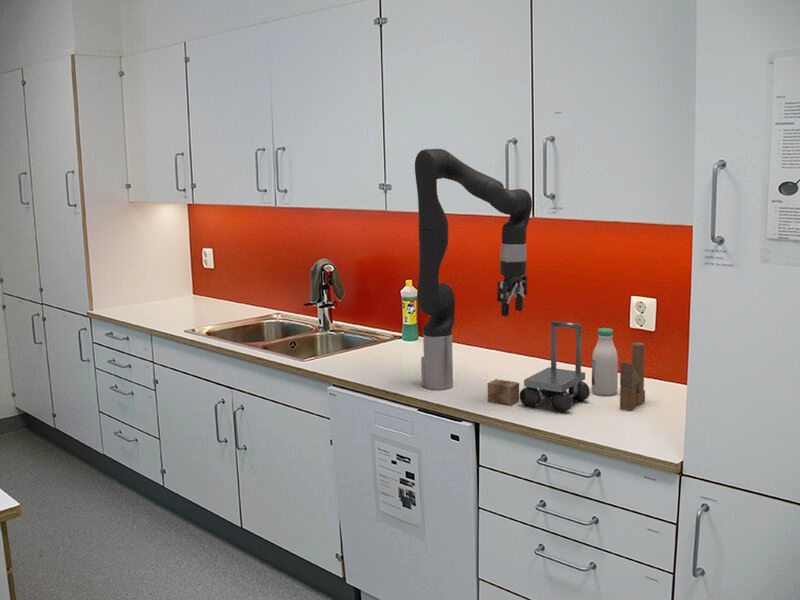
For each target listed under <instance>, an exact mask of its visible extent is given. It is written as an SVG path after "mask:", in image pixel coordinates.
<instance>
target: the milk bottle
mask: <svg viewBox="0 0 800 600" xmlns="http://www.w3.org/2000/svg"><path fill="white" fill-rule="evenodd" d="M597 337H598V338H597V342H596V345H595V347H594V349H593V352H592V358H591V359H592V361H591V392H592V393H593V394H595V395H597V396H607V397H608V396H613V395H617V393H618V387H619V386H618V385H619V383H618V381H619V379H618V378H619V375H618V373H619V371H618V370H619V367H618V366H619V356H618V351H617V349H616V346H615V343H614V341H613V337H614V329H612V328H608V327H602V328H598V329H597Z"/></svg>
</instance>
